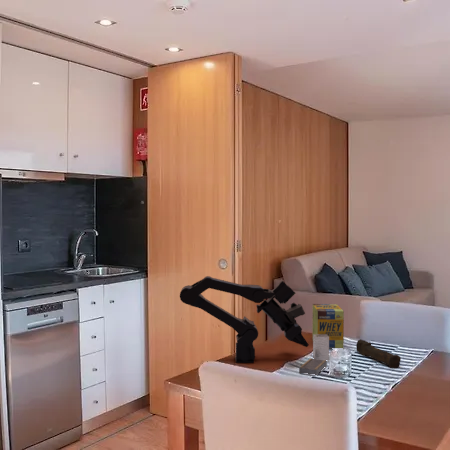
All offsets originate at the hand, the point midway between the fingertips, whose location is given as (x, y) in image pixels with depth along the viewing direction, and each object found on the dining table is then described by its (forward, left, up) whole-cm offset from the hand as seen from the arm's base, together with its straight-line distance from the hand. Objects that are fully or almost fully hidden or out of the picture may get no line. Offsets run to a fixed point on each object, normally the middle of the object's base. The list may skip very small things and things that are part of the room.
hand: (305, 342), depth 192 cm
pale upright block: (+6, 0, -6) cm, 9 cm away
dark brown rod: (+25, 0, -7) cm, 26 cm away
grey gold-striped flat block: (+1, -12, -6) cm, 14 cm away
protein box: (+13, +21, -7) cm, 25 cm away
